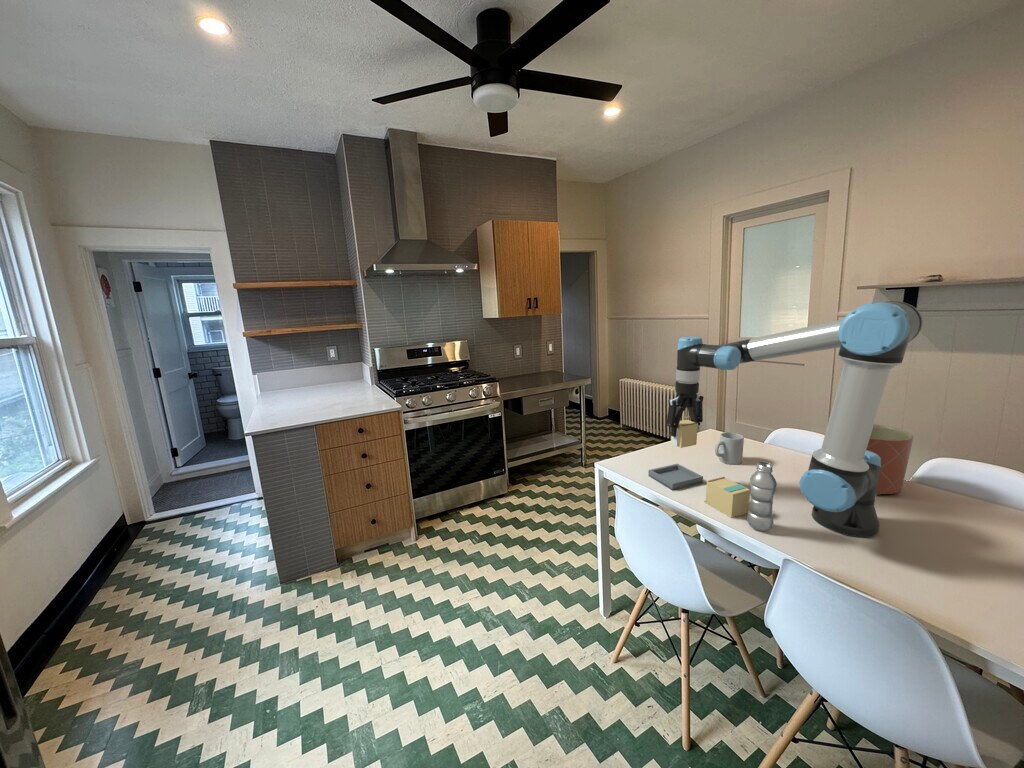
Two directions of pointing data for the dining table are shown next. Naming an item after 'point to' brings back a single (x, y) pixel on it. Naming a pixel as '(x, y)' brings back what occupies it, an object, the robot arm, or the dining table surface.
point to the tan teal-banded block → (727, 496)
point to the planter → (890, 456)
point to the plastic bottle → (762, 497)
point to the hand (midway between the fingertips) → (683, 442)
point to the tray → (675, 476)
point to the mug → (730, 448)
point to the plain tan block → (687, 433)
